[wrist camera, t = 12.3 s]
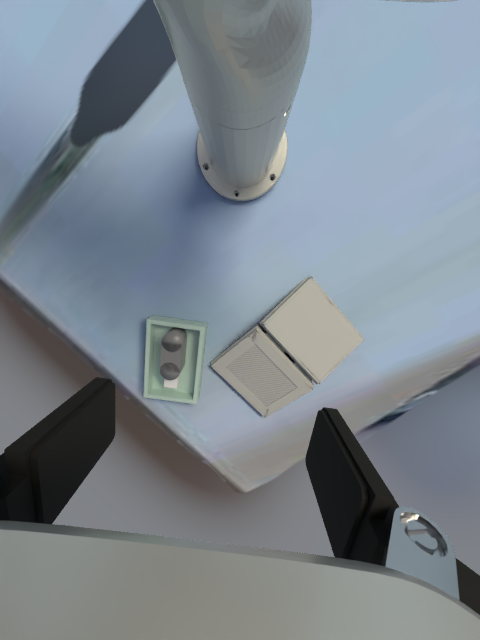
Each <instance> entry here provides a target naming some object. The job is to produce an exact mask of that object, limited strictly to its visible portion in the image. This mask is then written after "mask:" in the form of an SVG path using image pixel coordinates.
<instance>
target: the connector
mask: <svg viewBox="0 0 480 640" xmlns="http://www.w3.org/2000/svg"><path fill="white" fill-rule="evenodd" d="M186 347H187V332H186V331H185V329H183V328H177V327H173V328H172V329H171V330H170V331H169V332H168V333H166V334H165V335H164V336H163V338H162V342H161V359H160V374H161V376H162V377H163V378H164V387H168V388H175V389H177V387H178V385H179V379H180V373H181V371H182V369H183V367H184V365H185V358H186Z"/></svg>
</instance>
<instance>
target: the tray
mask: <svg viewBox="0 0 480 640" xmlns="http://www.w3.org/2000/svg"><path fill="white" fill-rule="evenodd" d="M173 327H177V328H183V329H185V331H186V332H187V347H186V358H185V365H184V367H183V369H182V371H181V373H180V379H179V385H178V387H177V389H175V388H168V387H164V378H163V377H162V376H161V374H160V359H161V342H162V338H163V336H164V335H165V334H166V333H168V332H169V331H170V330H171V329H172V328H173ZM206 331H207V323H204V322H197V321H190V320H183V319H176V318H169V317H162V316H155V315H153V316H151V317H149V318H147V321H146V348H145V374H144V397H145V398H152V399H160V400H168V401H175V402H183V403H191V404H197V402H198V399H199V395H200V386H201V377H202V368H203V359H204V350H205V340H206Z"/></svg>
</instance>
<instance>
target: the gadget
mask: <svg viewBox="0 0 480 640" xmlns="http://www.w3.org/2000/svg"><path fill="white" fill-rule="evenodd" d="M259 324H260V325H261V326H262V327H263V328H264V329H265V330H266V331H267V332H266V333H264V332H263V330H262V329H261V328H260V327H259V326H258V325H256V326H255V327H254V328H252V329H251V330H250V331H249V332H247V333H246V334H245V335H244V336H242V337H241V338H240V339H239V340H237V341H236V342H235V343H234V344H232V345H231V346H230V347H229V348H227V349H226V350H225V351H224V352H222V353H221V354H220V355H219V356H217V357H216V358H215V359H214V360H213V361H212V362H211V367H212V368H213V369H214V370H215V371H217V372H218V373H219V374H220V375H221V376H222V377H223V378H224V379H225V380H226V381H227V382H228V383H229V384H230V385H231V386H232V387H233V388H234V389H235V390H236V391H238V392H239V393H240V394H241V395H242V396H243V397H244V398H245V399H246V400H247V401H248V402H249V403H250V404H251V405H252V406H253V407H254V408H255V409H256V410H257V411H259V412H260V413H261V414H262V415H263V416H264V417H267V416H269V415H270V414H272V413H274V412H275V411H277V410H279V409H281V408H282V407H284V406H286V405H287V404H289V403H291V402H292V401H294V400H296V399H298V398H299V397H301V396H303V395H304V394H306V393H308V392H309V391H311V390H313V387H314V384H313V383H312V382H311V381H312V380H313V381H314V382H315V383H316V384H317V383H318V384H320V383H321V382H322V381H323V380H324V379H325V378H326V377H327V376H328V375H329V374H330V373H331V372H332V371H333V370H334V369H335V368H336V367H337V366H338V365H339V364H340V363H341V362H342V361H343V360H344V359H345V358H346V357H347V356H348V355H349V354H350V353H351V352H352V351H353V350H354V349H355V348H356V347H357V346H358V345H359V344H360V343H361V342H362V341H363V340H364V339H363V337H362V336H361V335H360V334H359V333H358V331H357V330H356V329H355V328H354V327H353V325H352V324H351V323H350V322H349V321H348V320H347V318H346V317H345V316H344V315H343V314H342V312H341V311H340V310H339V309H338V308H337V306H336V305H335V304H334V303H333V302H332V300H331V299H330V298H329V297H328V296H327V295H326V293H325V292H324V291H323V290H322V289H321V287H320V286H319V285H318V284H317V283H316V281H315V280H314V279H313V278H312V277H309V278H308V279H305V280H303V281H302V282H301V283H300V284H299V285H298V286H297V287H295V288H294V289H293V290H292V291H291V292H290V293H289V294H288V295H287V296H286V297H285V298H284V299H283V300H282V301H281V302H280V303H279V304H278V305H277V306H276V307H275V308H274V309H273V310H272V311H271V312H270V313H269V314H268V315H267V316H266V317H265V318H264V319H263V320H262V321H261V322H260V323H259ZM285 351H286V352H287V353H288V355H289V356H290V357H291V358H292V359H293V360H294V362H292V361H291V360H290V359H289V358H288V357H287V356H286V355H285V354H284V352H285Z"/></svg>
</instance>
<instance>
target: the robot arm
mask: <svg viewBox="0 0 480 640" xmlns="http://www.w3.org/2000/svg"><path fill="white" fill-rule="evenodd" d="M153 1H154V3H155V5H156V7H157V10H158V12H159V14H160V16H161V18H162V21H163V24H164V26H165V29H166V31H167V34H168V36H169V39H170V41H171V44H172V47H173V50H174V53H175V56H176V59H177V62H178V65H179V68H180V71H181V74H182V77H183V81H184V84H185V87H186V90H187V93H188V96H189V99H190V102H191V105H192V108H193V111H194V114H195V118H196V121H197V124H198V127H199V134H198V140H197V155H198V161H199V165H200V168H201V171H202V173H203V175H204V177H205V179H206V180H207V182H208V183H209V185H210V186H211V187H212V188H213V189H214V190H215V191H216V192H217V193H219V194H220V195H221V196H223V197H225V198H228V199H230V200H234V201H250V200H254V199H256V198H259V197H261V196H263V195H264V194H265V193H267V192H268V191H269V190H270V189H271V188H272V187H273V186H274V185H275V184H276V182H277V181H278V179H279V178H280V176H281V174H282V172H283V169H284V166H285V163H286V158H287V152H288V142H287V136H286V131H285V127H286V123H287V120H288V117H289V114H290V111H291V108H292V104H293V101H294V98H295V95H296V92H297V89H298V85H299V82H300V79H301V76H302V72H303V69H304V66H305V63H306V58H307V54H308V49H309V43H310V34H311V21H312V9H311V0H153ZM386 1H404V2H447V1H456V0H386ZM205 168H208V170H205ZM270 178H273V179H274V180H273V181H272V180H270ZM236 193H237V194H239V195H238V196H237V197H236V196H235V194H236ZM114 436H115V383H112V380H111V379H106V378H99V377H98V378H95V379H94V380H92V381H91V382H90V383H89V384H87V385H86V386H85V387H83V388H82V389H81V390H80V391H78V392H77V393H76V394H74V395H73V396H72V397H71V398H69V399H68V400H67V401H66V402H64V403H63V404H62V405H61V406H59V407H58V408H57V409H55V410H54V411H53V412H52V413H50V414H49V415H48V416H46V417H45V418H44V419H43V420H41V421H40V422H39V423H38V424H36V425H35V426H34V427H33V428H31V429H30V430H29V431H27V432H26V433H25V434H24V435H22V436H21V437H20V438H19V439H17V440H16V441H15V442H13V443H12V444H11V445H10V446H8V447H7V448H6V449H5V452H4V453H3V454H2V455H0V640H480V576H479V575H478V574H477V573H475V572H474V571H473V570H471V569H470V568H469V567H467V566H466V565H464V564H463V563H462V562H460V561H459V560H458V559H456V557H455V552H454V548H453V546H452V544H451V542H450V540H449V539H448V537H447V536H446V535H445V533H444V532H443V531H442V530H441V528H439V527H438V526H437V525H436V524H435V523H434V522H433V521H432V520H431V519H429V518H428V517H426V516H425V515H424V514H422V513H420V512H419V511H417V510H415V509H412V508H409V507H399V506H398V504H397V503H396V501H395V500H394V497H393V496H392V494H391V492H390V491H389V490H388V488H387V486H386V485H385V483H384V482H383V480H382V479H381V477H380V475H379V474H378V472H377V471H376V469H375V468H374V466H373V464H372V463H371V461H370V460H369V458H368V457H367V455H366V454H365V452H364V451H363V449H362V447H361V446H360V444H359V443H358V441H357V440H356V438H355V436H354V435H353V433H352V432H351V430H350V429H349V427H348V426H347V424H346V422H345V421H344V419H343V418H342V416H341V415H340V413H339V412H338V410H337V409H332V408H323V409H322V410H319V411H318V413H317V417H316V421H315V425H314V428H313V432H312V436H311V439H310V443H309V447H308V451H307V454H306V467H307V470H308V473H309V476H310V480H311V483H312V486H313V489H314V492H315V495H316V499H317V502H318V505H319V508H320V512H321V515H322V518H323V521H324V525H325V528H326V531H327V534H328V537H329V541H330V543H331V547H332V550H333V553H334V556H335V557H328V556H320V555H314V554H307V553H298V552H290V551H282V550H273V549H266V548H257V547H249V546H242V545H233V544H225V543H216V542H207V541H199V540H191V539H182V538H173V537H164V536H156V535H147V534H138V533H129V532H120V531H111V530H101V529H93V528H83V527H74V526H65V525H53V524H52V523H53V522H54V520H55V519H56V518H57V516H58V515H59V513H60V512H61V511H62V509H63V508H64V507H65V505H66V504H67V503H68V501H69V499H70V498H71V497H72V496H73V494H74V493H75V492H76V490H77V489H78V487H79V486H80V485H81V483H82V482H83V480H84V479H85V478H86V476H87V475H88V474H89V472H90V471H91V470H92V468H93V467H94V465H95V464H96V463H97V461H98V460H99V459H100V457H101V456H102V455H103V453H104V452H105V450H106V449H107V448H108V446H109V445H110V443H111V442H112V440H113V439H114Z"/></svg>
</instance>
